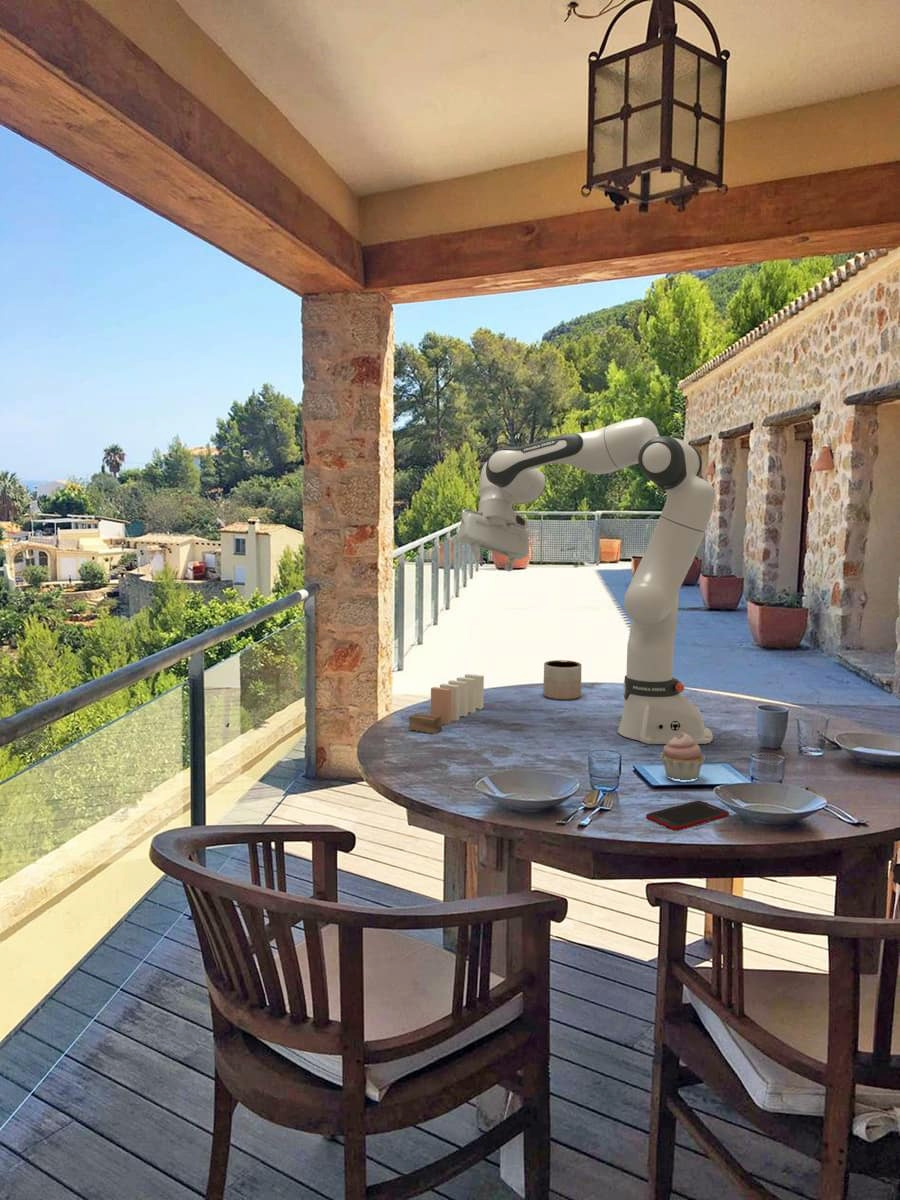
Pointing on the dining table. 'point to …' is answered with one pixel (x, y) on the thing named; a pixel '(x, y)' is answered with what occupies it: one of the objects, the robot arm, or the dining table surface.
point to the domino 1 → (441, 704)
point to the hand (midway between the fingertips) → (493, 566)
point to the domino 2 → (454, 700)
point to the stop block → (425, 723)
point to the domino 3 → (462, 696)
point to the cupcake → (682, 758)
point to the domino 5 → (478, 689)
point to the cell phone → (687, 815)
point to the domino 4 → (470, 693)
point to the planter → (562, 679)
